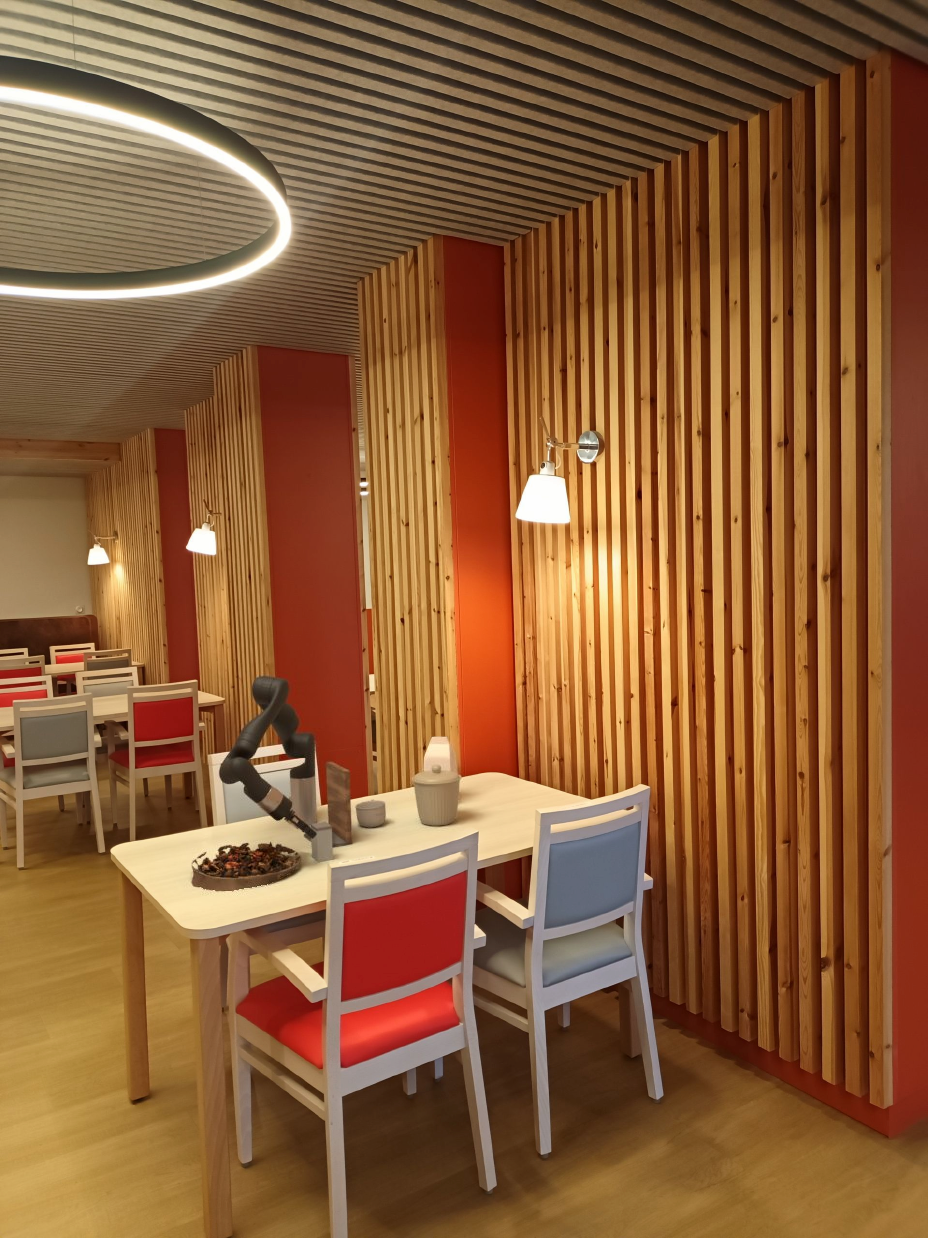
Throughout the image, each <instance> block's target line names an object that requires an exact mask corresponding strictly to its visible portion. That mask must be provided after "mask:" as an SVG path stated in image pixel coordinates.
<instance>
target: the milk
mask: <svg viewBox="0 0 928 1238" xmlns="http://www.w3.org/2000/svg"><path fill="white" fill-rule="evenodd" d="M425 751H426V752H425V753H424V755H423V756H424V757H423V772H424V771H429V770H431V768H432V766H433V765H440V766H441V770H449V771H453V772H456V773H457V774H459V773H458V764H457V753H456V750H455V749H454V747H453V746H452V744H451V742H450V740H449V737H448V736H432V737H431V739H430V740H429V744H428V746H427V749H426V750H425ZM460 799H461V797H460V796H459V797H458V800H460Z"/></svg>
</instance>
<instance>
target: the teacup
mask: <svg viewBox="0 0 928 1238" xmlns="http://www.w3.org/2000/svg"><path fill="white" fill-rule="evenodd" d="M354 807H355V813H356V819H357V823H358V824H359V825H361V826H362V827H364V828H376V827H379V826H381V825H382V824H383V823H384V822H385V821H386V817H387V811H386V810H387V809H386V802H385V801H384V800H378V799H370V800H366V801H361V802H358V803H357V804H356V805H355V806H354Z"/></svg>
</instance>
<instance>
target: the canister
mask: <svg viewBox="0 0 928 1238" xmlns="http://www.w3.org/2000/svg"><path fill="white" fill-rule="evenodd" d="M457 773H458V772H457ZM457 773H456V772H453V771H449V770H441V766H440V765H433V766H432V768H431V770H429V771H424V770H423V771H420V772H418V773H416V774H415V775H414V776H412V777H411V781H412V782H413V788H414V795H415V802H416V808H417V813H418V814H417V815H418V818H419V821H420V822H421V823H422V824H424V825H426V826H436V827H439V826H444V825H445V826H446V825H449V824H452V823H454V822H455V820H456V818H457V816H458V809H459V808H458V805H459V801H458V797H460V781H461V779H462V775H461V774H459V773H458V774H457Z"/></svg>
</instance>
